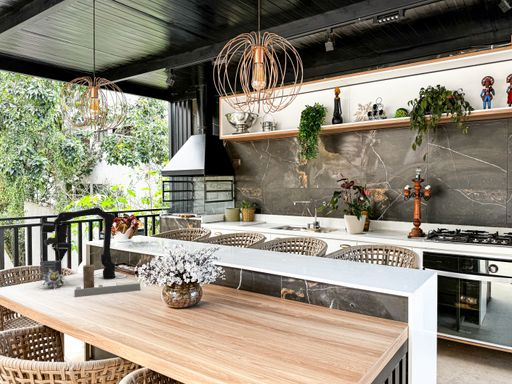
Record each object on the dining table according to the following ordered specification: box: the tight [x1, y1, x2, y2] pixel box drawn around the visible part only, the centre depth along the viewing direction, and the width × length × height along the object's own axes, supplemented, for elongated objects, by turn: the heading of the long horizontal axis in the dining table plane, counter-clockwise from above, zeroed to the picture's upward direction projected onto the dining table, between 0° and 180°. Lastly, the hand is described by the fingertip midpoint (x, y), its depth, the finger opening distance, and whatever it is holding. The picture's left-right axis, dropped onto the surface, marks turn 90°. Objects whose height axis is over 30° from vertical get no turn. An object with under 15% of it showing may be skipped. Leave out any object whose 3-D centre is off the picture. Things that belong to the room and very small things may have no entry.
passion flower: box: [40, 270, 65, 289], centre depth 220 cm, size 11×11×12 cm
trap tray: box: [73, 280, 141, 298], centre depth 210 cm, size 32×13×4 cm, turn 110°
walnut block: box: [82, 264, 95, 289], centre depth 207 cm, size 5×5×14 cm
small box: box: [39, 260, 63, 280], centre depth 245 cm, size 11×6×10 cm, turn 84°
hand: (58, 260), depth 226 cm, fingers open, 9 cm apart
